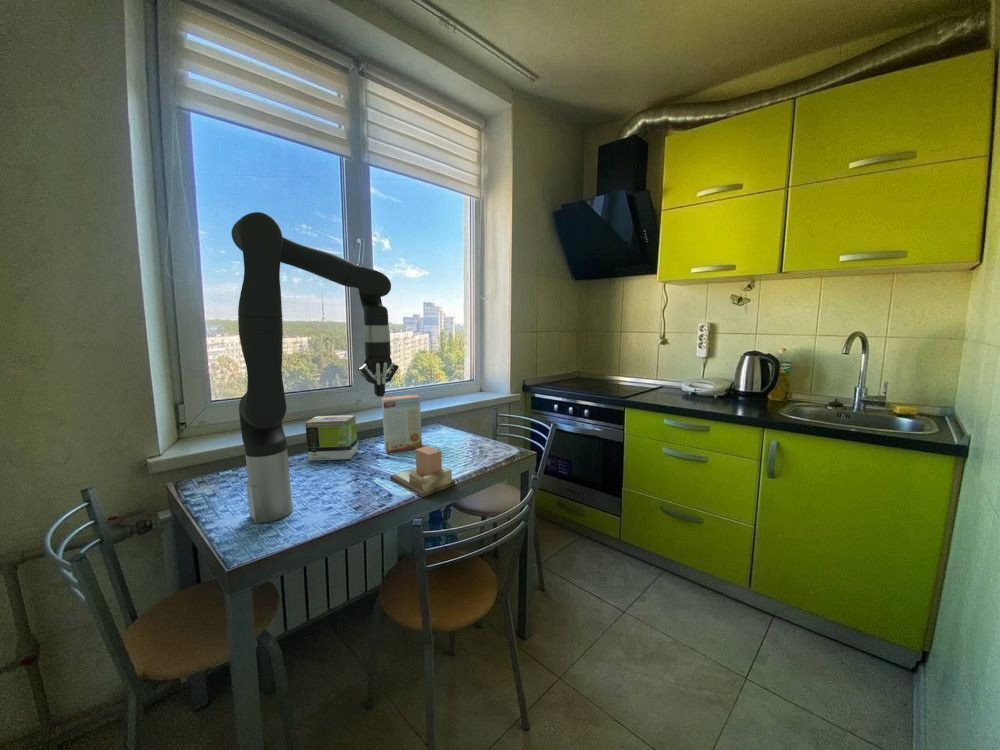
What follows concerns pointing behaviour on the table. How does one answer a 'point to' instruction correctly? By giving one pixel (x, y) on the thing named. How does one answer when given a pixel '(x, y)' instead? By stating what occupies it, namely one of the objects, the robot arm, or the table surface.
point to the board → (412, 488)
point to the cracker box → (401, 422)
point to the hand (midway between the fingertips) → (380, 396)
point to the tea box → (331, 437)
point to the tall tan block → (428, 461)
